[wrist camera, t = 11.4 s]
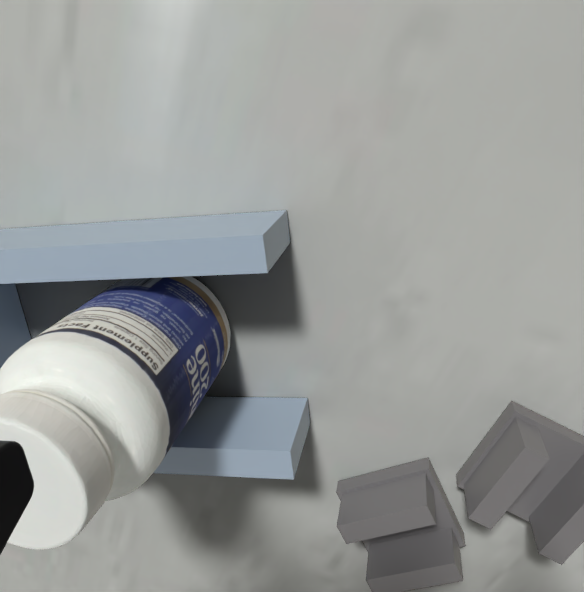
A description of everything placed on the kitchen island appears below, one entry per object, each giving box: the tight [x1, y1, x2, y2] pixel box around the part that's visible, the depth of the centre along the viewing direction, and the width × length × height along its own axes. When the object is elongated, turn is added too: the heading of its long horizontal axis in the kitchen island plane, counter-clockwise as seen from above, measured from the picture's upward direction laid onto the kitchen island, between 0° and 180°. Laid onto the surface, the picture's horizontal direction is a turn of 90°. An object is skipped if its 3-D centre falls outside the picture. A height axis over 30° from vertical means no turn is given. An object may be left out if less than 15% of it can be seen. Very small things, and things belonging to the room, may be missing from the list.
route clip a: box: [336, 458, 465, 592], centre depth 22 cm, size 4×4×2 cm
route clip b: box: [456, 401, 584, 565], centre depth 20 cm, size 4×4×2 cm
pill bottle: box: [0, 276, 231, 550], centre depth 18 cm, size 5×5×10 cm
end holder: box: [0, 210, 310, 480], centre depth 21 cm, size 13×9×4 cm
